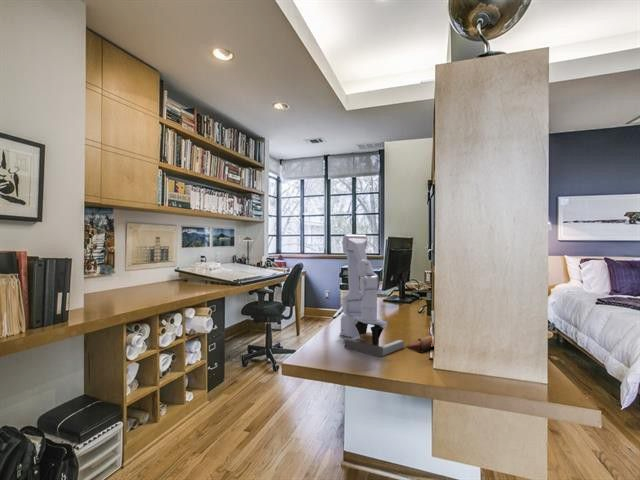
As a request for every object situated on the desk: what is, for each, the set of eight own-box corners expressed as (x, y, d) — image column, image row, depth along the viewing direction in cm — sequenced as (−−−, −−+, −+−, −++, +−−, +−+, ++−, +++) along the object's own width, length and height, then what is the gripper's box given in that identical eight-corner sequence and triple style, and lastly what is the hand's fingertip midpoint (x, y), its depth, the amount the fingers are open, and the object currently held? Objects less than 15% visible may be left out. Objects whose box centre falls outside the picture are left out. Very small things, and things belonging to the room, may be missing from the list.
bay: (344, 347, 121) (344, 339, 121) (369, 339, 132) (369, 331, 132) (379, 357, 109) (379, 348, 110) (403, 347, 121) (403, 339, 121)
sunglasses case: (429, 339, 132) (436, 327, 130) (442, 351, 127) (450, 339, 125) (402, 347, 121) (410, 334, 118) (416, 361, 116) (424, 347, 113)
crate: (359, 347, 119) (359, 334, 119) (368, 345, 122) (368, 332, 123) (371, 351, 115) (371, 337, 115) (379, 348, 119) (379, 334, 119)
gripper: (347, 306, 122) (347, 341, 121) (379, 311, 111) (379, 350, 111) (359, 304, 127) (359, 338, 126) (390, 308, 116) (390, 346, 116)
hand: (369, 343), depth 119 cm, fingers closed on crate, 5 cm apart
